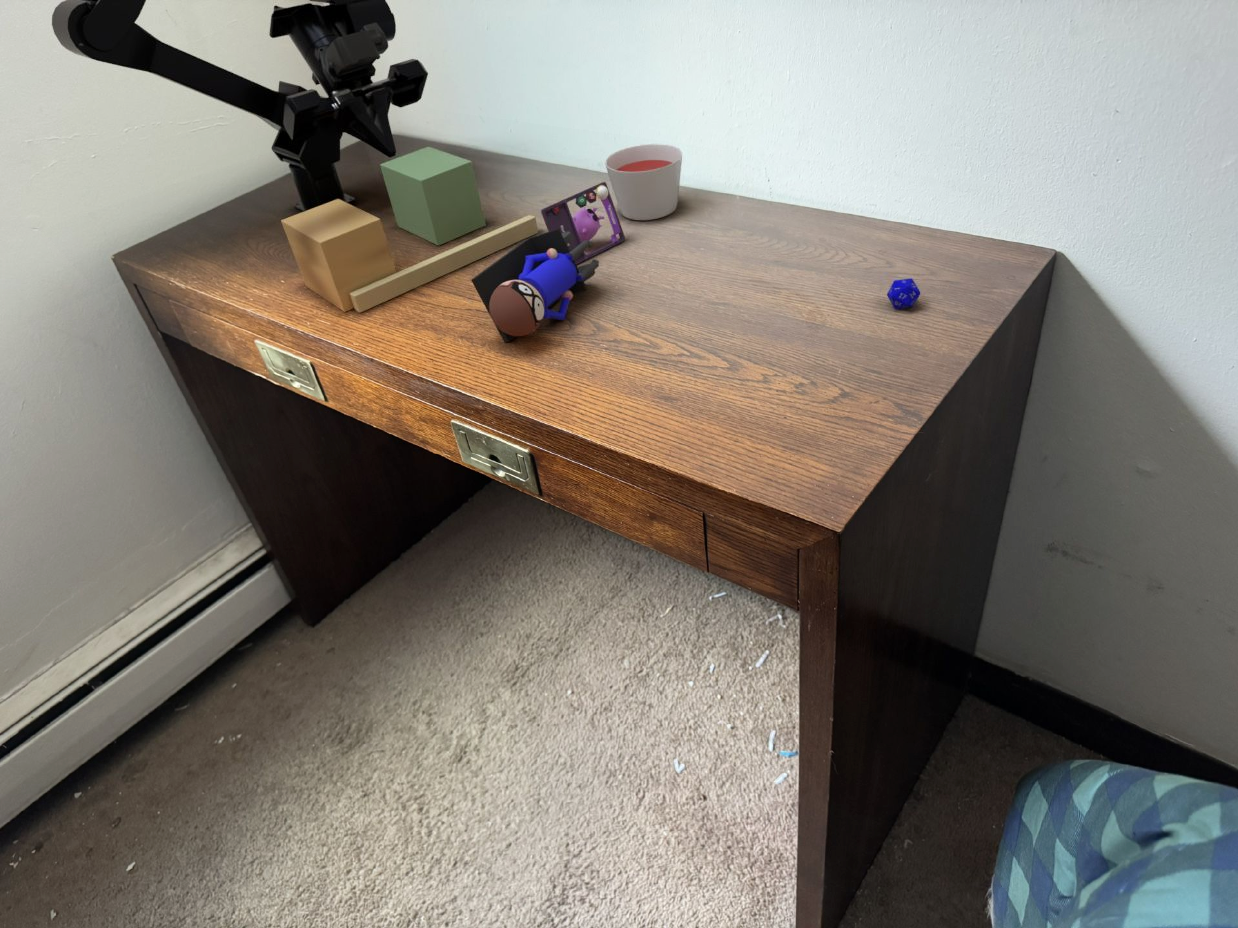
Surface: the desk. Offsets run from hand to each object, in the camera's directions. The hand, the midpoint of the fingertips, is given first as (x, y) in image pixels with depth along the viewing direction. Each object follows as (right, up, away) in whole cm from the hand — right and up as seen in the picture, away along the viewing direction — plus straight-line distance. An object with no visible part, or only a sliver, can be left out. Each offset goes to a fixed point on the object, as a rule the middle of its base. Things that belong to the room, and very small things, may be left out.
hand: (393, 155), depth 109 cm
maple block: (-1, -19, -12) cm, 22 cm away
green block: (+6, -9, -1) cm, 11 cm away
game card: (+24, -15, -11) cm, 31 cm away
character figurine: (+21, -24, -23) cm, 39 cm away
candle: (+32, -8, -5) cm, 34 cm away
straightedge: (+10, -17, -11) cm, 22 cm away
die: (+55, -25, -29) cm, 67 cm away
